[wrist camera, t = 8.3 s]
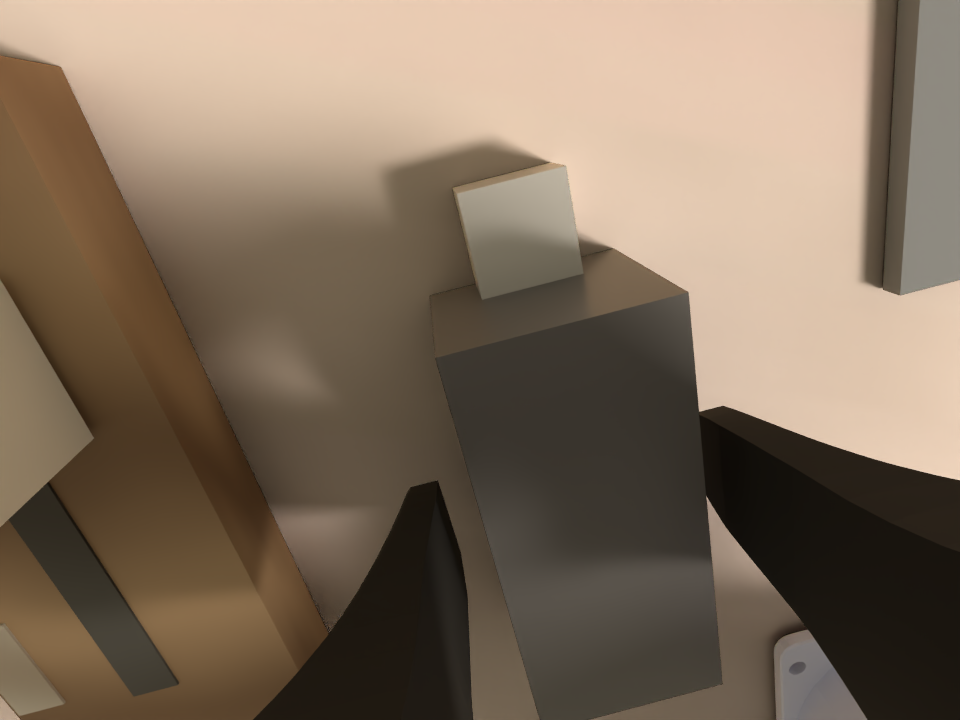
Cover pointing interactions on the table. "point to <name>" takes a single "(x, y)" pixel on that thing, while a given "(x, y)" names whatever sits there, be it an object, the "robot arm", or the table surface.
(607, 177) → the table surface
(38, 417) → the switch tab
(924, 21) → the mat
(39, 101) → the switch block
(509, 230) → the bar
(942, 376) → the table surface
